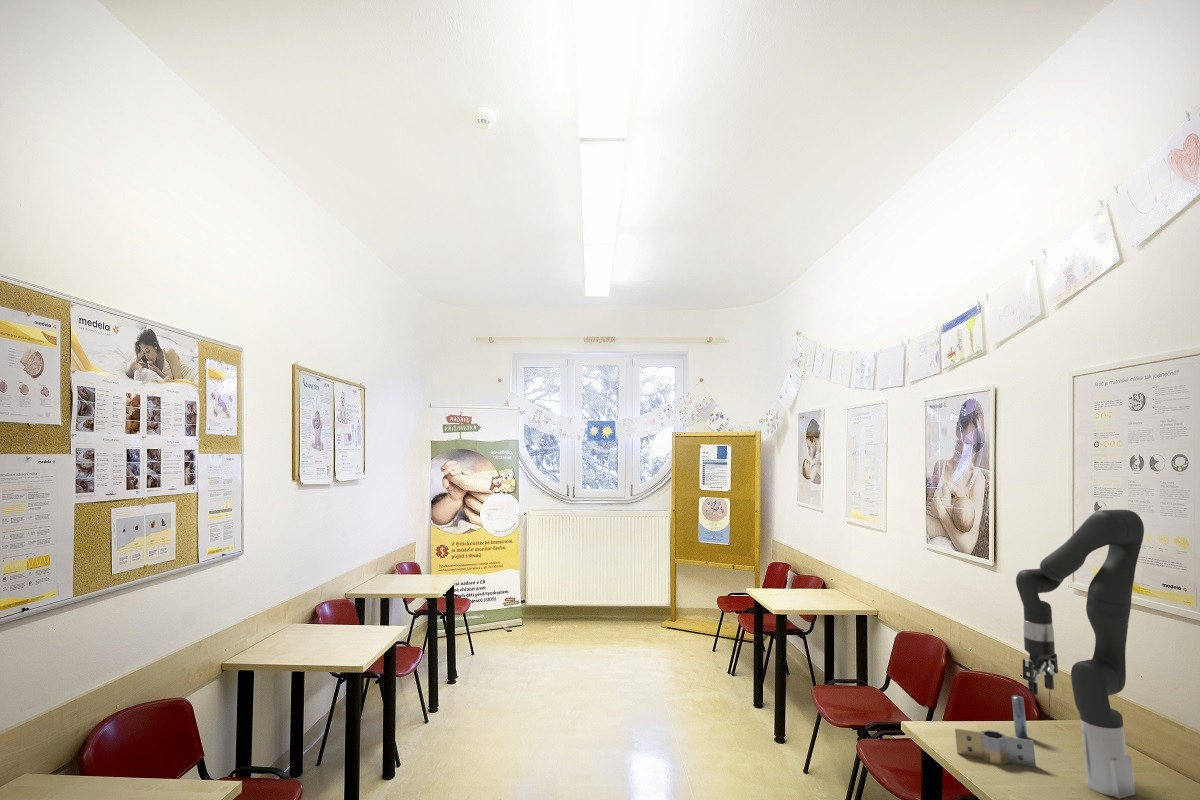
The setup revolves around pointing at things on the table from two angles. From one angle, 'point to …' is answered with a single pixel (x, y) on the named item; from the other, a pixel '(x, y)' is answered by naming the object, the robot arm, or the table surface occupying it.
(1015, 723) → the pin
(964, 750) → the hinge
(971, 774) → the table surface
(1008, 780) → the table surface
